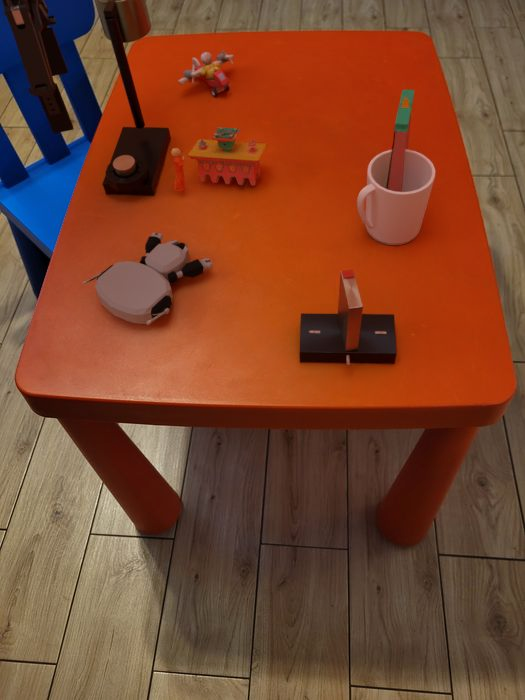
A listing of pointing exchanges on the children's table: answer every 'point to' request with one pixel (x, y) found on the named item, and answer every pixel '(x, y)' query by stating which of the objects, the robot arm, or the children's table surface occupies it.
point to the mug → (396, 198)
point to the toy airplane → (209, 71)
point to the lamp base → (139, 160)
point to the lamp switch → (125, 166)
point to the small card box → (349, 310)
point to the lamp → (125, 40)
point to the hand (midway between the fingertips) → (61, 100)
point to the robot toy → (146, 280)
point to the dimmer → (327, 343)
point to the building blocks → (244, 157)
